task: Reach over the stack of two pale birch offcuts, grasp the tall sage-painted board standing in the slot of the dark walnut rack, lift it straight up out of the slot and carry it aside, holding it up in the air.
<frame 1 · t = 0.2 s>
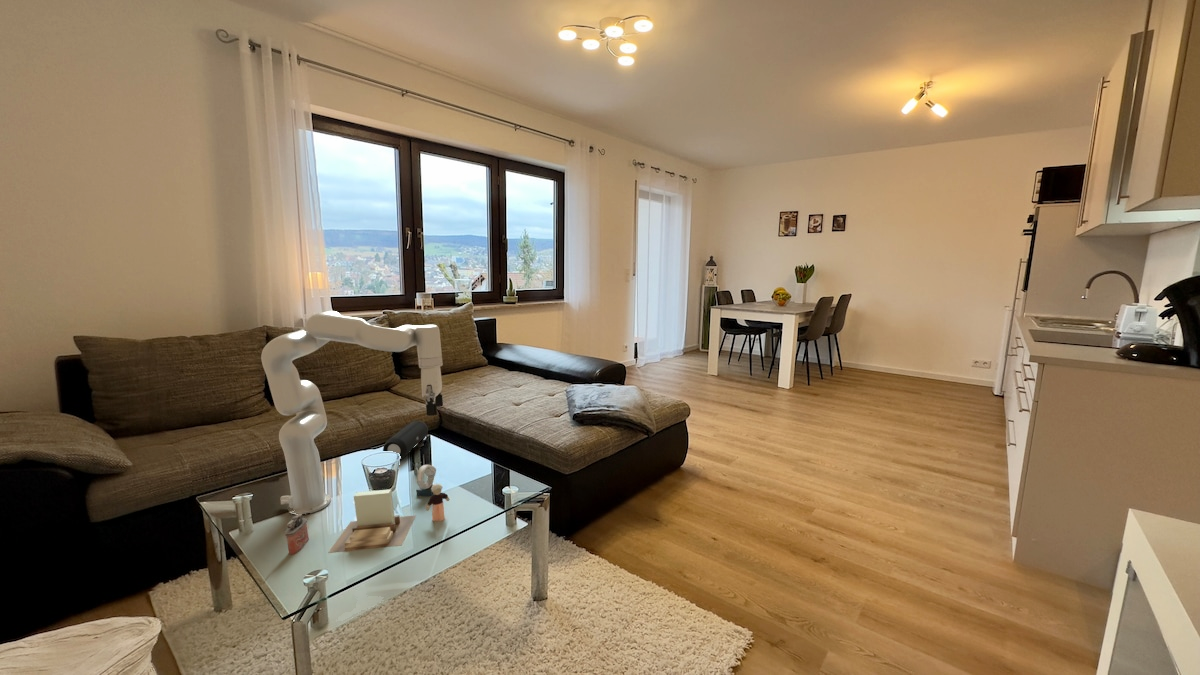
hand: (435, 410, 159), 31 cm above the table, tool pointing down, fingers open, 9 cm apart
grandmother figurine: (440, 521, 148), on the table
portable speaker: (407, 450, 205), on the table
lower birch offcut: (369, 541, 136), point 1 cm above the table, touching upper birch offcut, walnut rack
walnut rack: (375, 535, 140), on the table
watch: (427, 495, 164), on the table
upper birch offcut: (370, 536, 136), point 2 cm above the table, touching lower birch offcut
lighter: (299, 549, 135), on the table
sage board: (377, 529, 142), point 1 cm above the table, touching walnut rack
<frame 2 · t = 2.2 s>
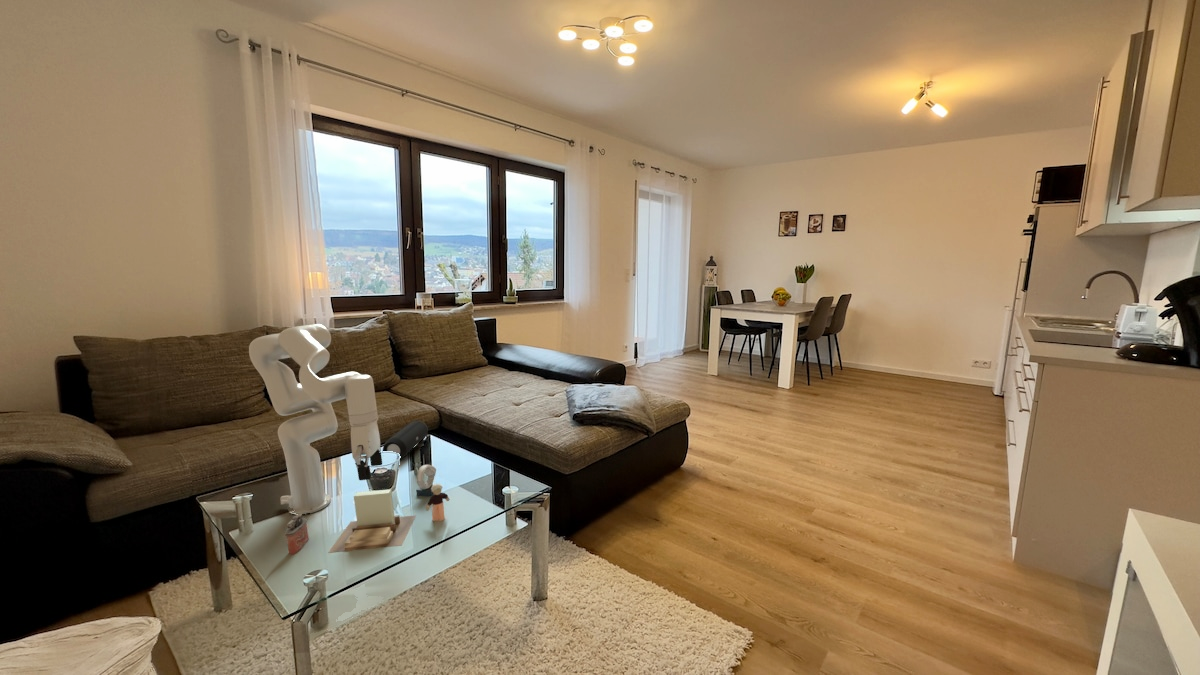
hand: (371, 472, 139), 20 cm above the table, tool pointing down, fingers open, 9 cm apart
nothing on the table moved.
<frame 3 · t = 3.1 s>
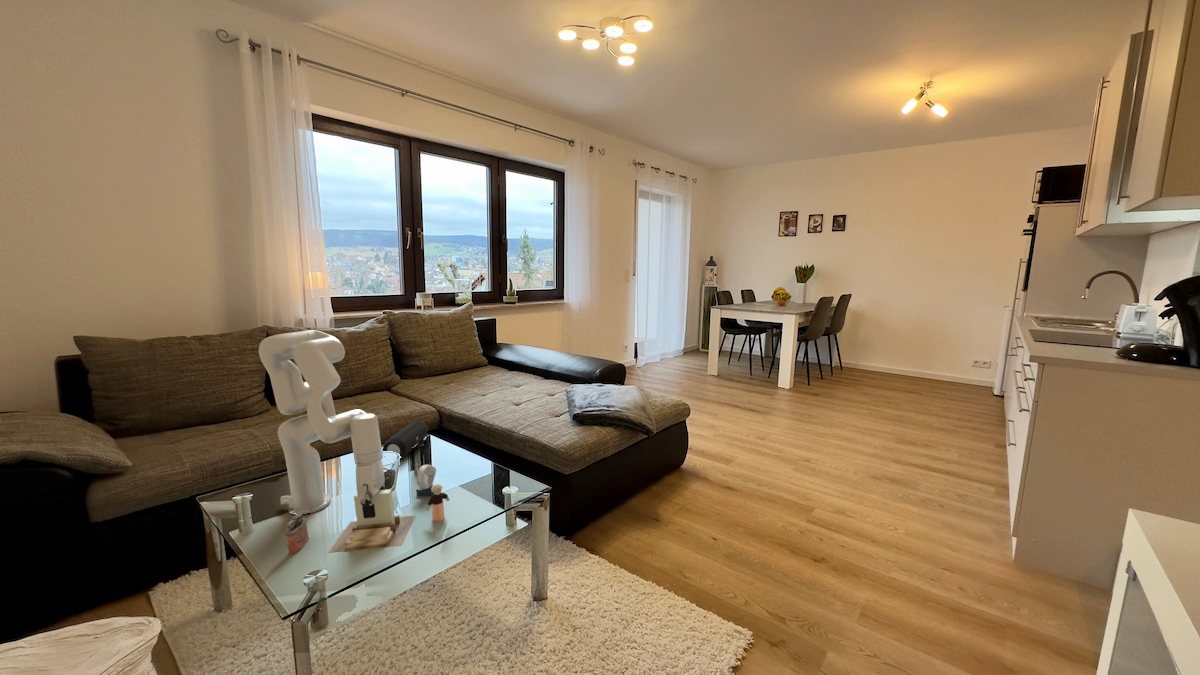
hand: (375, 508, 141), 8 cm above the table, tool pointing down, fingers open, 9 cm apart
nothing on the table moved.
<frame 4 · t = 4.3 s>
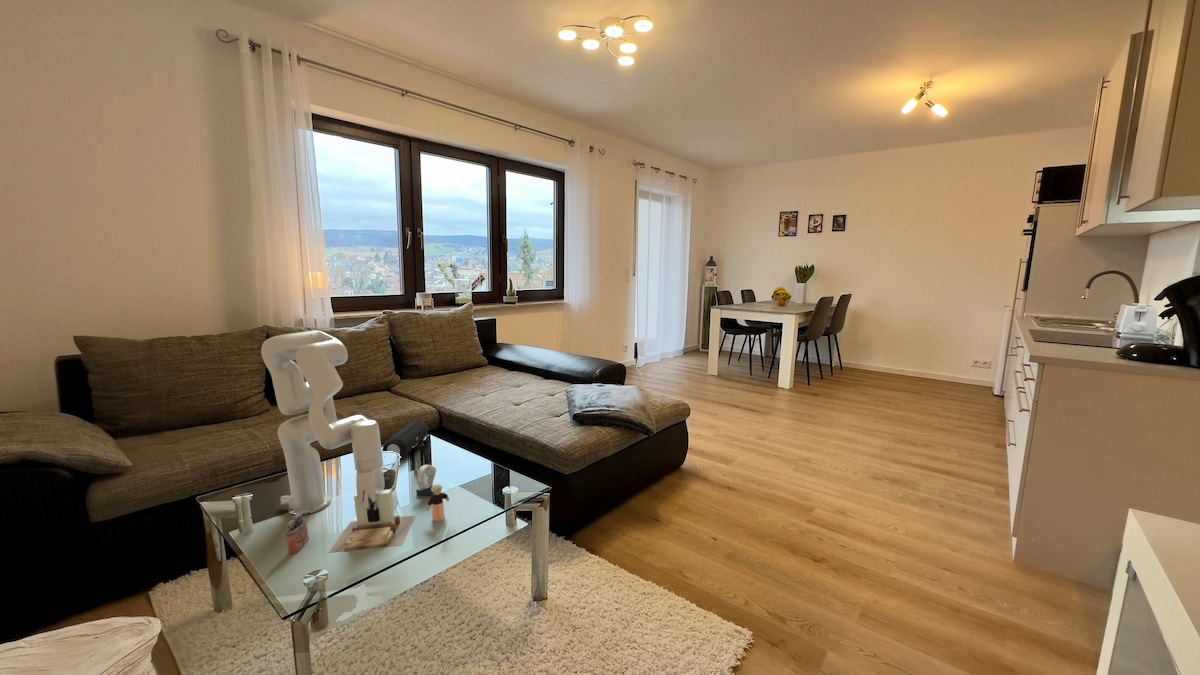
hand: (375, 518, 142), 5 cm above the table, tool pointing down, fingers closed on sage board, 2 cm apart
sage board: (377, 529, 142), point 1 cm above the table, touching gripper, walnut rack
everything else where it was.
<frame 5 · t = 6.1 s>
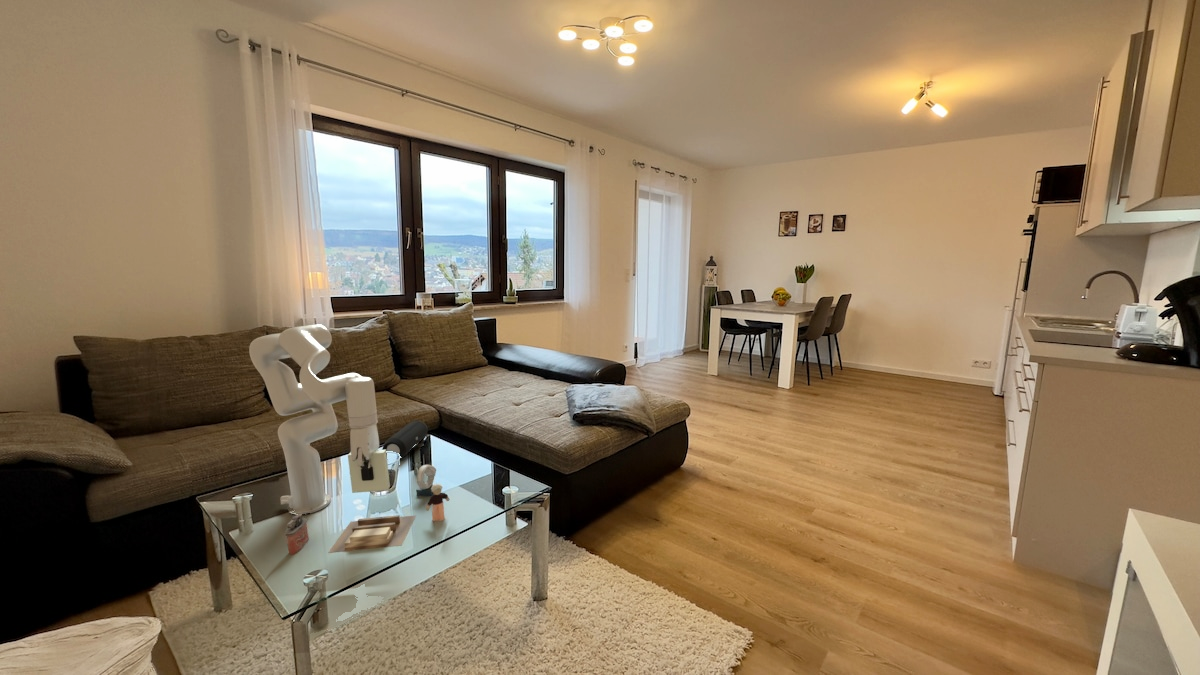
hand: (369, 477, 140), 18 cm above the table, tool pointing down, fingers closed on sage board
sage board: (371, 489, 140), point 14 cm above the table, touching gripper
everything else where it was.
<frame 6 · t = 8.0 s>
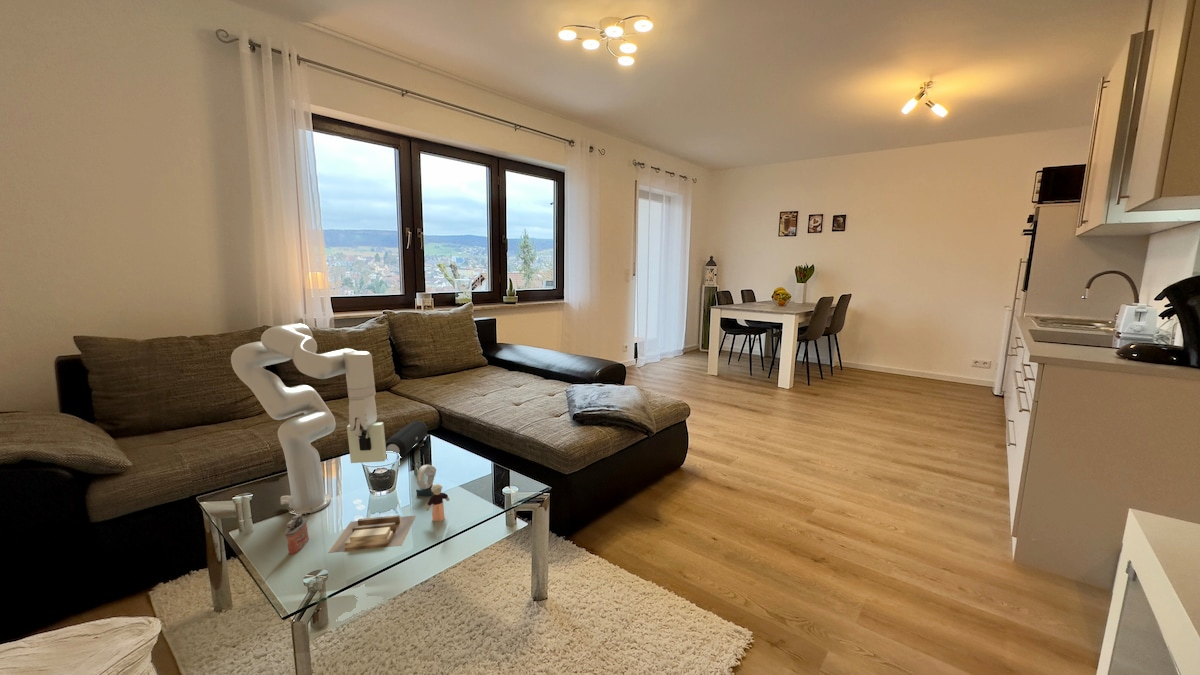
hand: (367, 447, 146), 24 cm above the table, tool pointing down, fingers closed on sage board
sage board: (369, 460, 147), point 20 cm above the table, touching gripper
everything else where it was.
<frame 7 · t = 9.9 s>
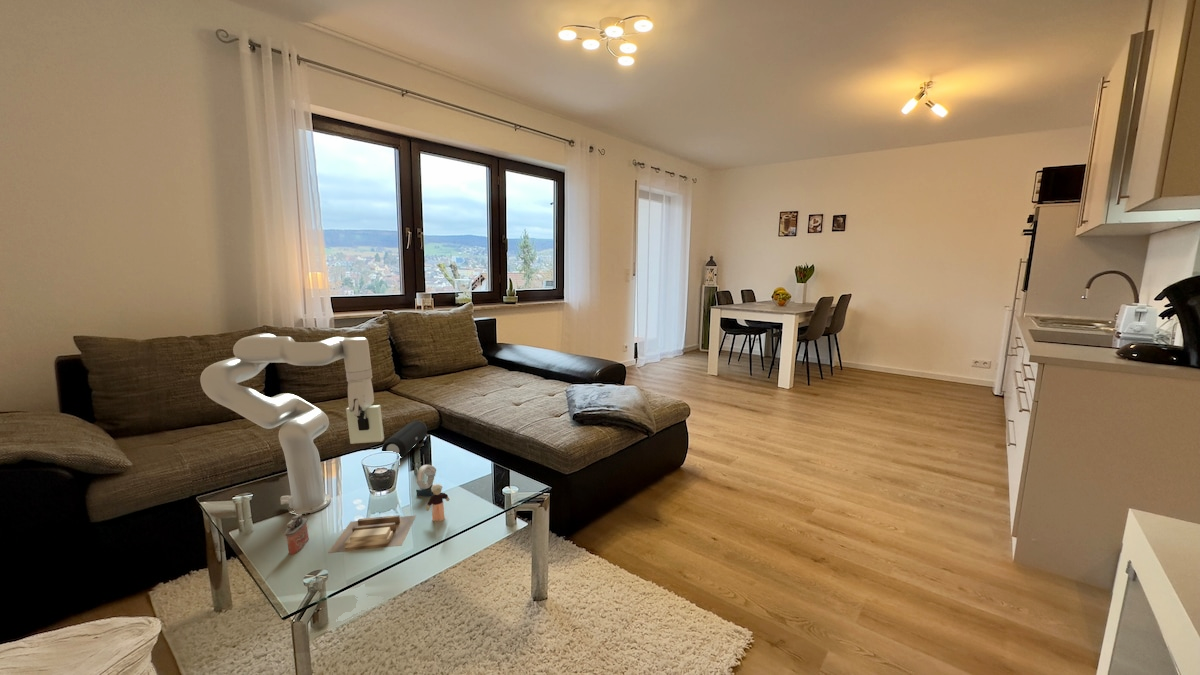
hand: (365, 427, 156), 27 cm above the table, tool pointing down, fingers closed on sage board
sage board: (367, 441, 156), point 22 cm above the table, touching gripper
everything else where it was.
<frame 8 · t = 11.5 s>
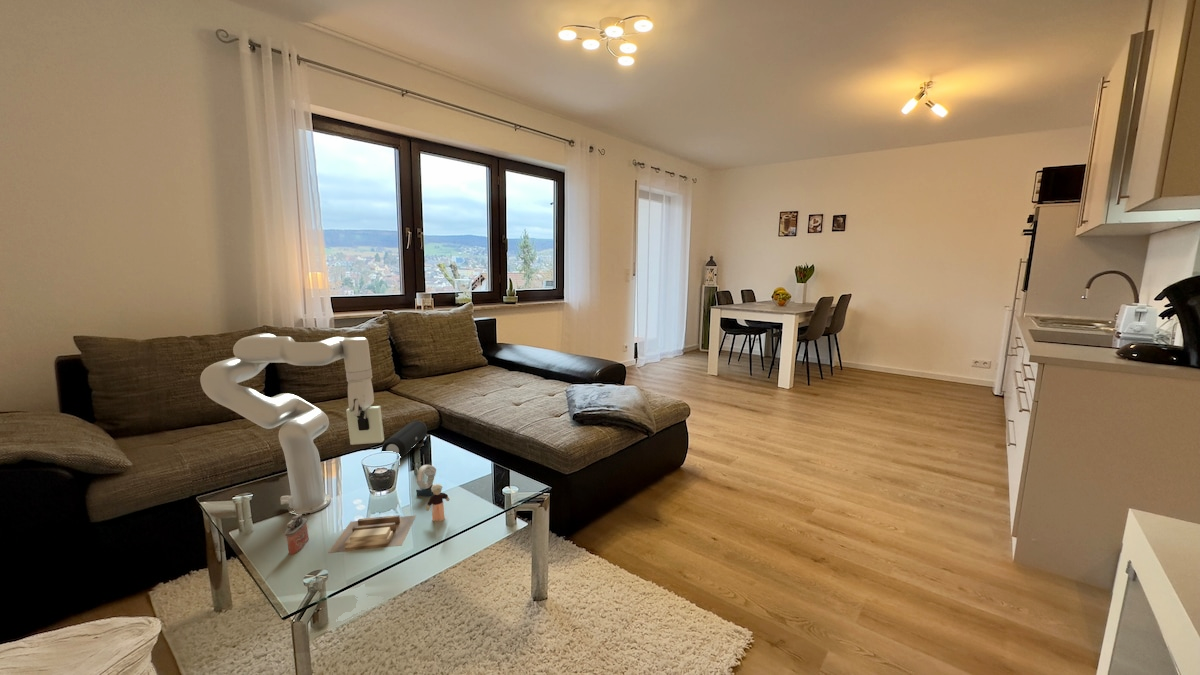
hand: (365, 427, 156), 27 cm above the table, tool pointing down, fingers closed on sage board
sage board: (367, 442, 156), point 22 cm above the table, touching gripper
everything else where it was.
at the end: the gripper is holding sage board; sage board point 22.0 cm above the table; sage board moved 29.2 cm from its start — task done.
